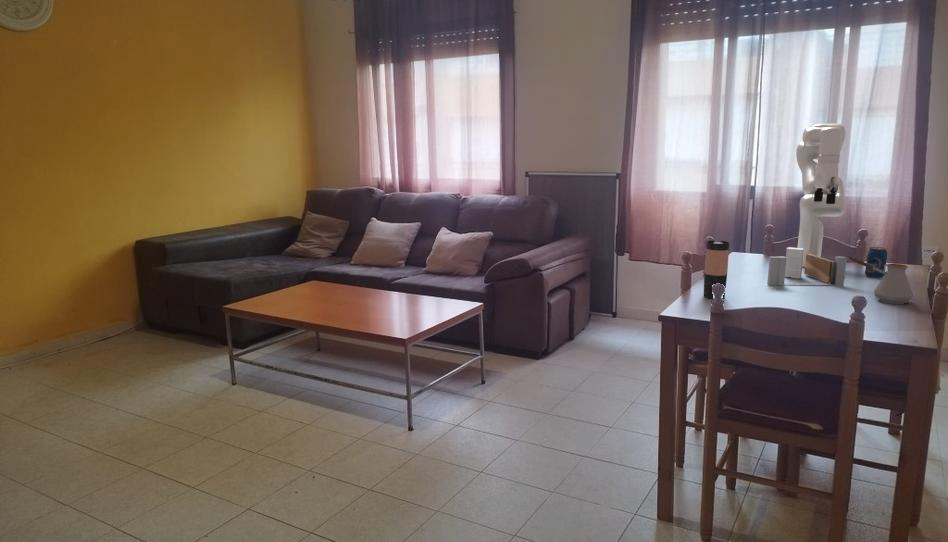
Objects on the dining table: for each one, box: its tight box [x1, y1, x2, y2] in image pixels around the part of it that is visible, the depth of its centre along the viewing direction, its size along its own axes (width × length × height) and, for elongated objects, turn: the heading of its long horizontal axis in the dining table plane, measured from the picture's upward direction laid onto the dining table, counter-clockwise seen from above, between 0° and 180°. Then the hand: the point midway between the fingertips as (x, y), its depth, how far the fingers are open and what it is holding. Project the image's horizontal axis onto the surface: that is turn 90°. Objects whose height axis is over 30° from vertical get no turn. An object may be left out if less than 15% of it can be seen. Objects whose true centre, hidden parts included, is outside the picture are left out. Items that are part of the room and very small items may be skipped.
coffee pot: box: [845, 256, 914, 305], centre depth 225 cm, size 21×12×15 cm, turn 68°
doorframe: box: [766, 255, 848, 287], centre depth 249 cm, size 3×28×11 cm, turn 89°
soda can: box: [864, 246, 888, 279], centre depth 263 cm, size 7×7×12 cm
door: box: [803, 254, 836, 284], centre depth 258 cm, size 2×19×8 cm, turn 2°
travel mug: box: [703, 240, 730, 300], centre depth 230 cm, size 8×8×20 cm
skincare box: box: [785, 246, 804, 279], centre depth 263 cm, size 6×4×12 cm
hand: (824, 202), depth 260 cm, fingers open, 9 cm apart
